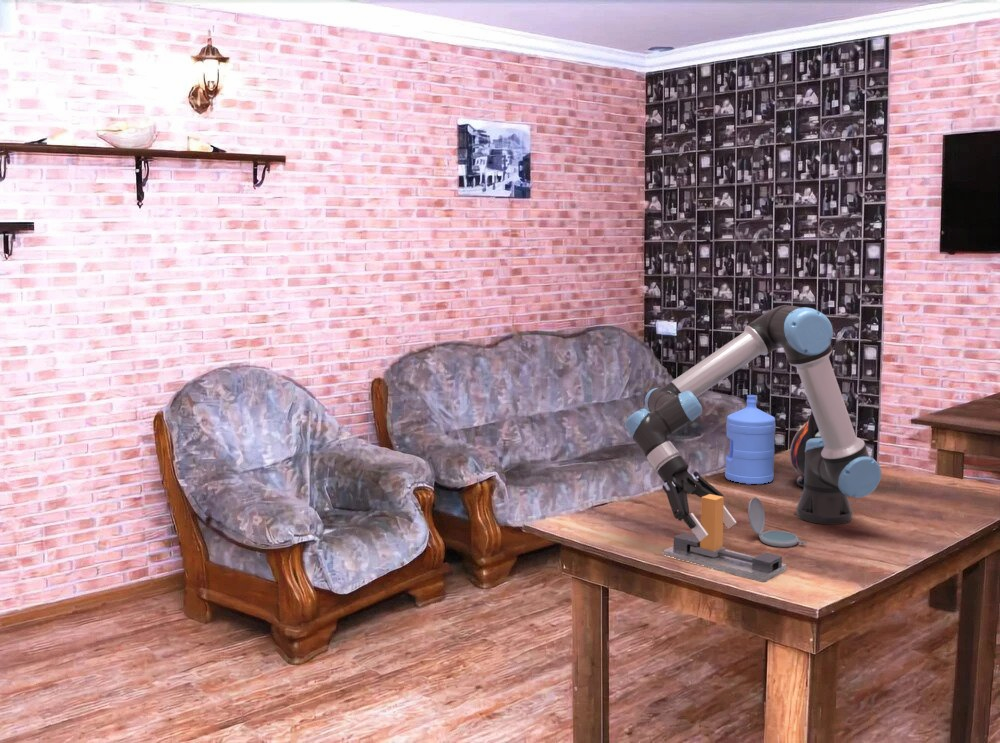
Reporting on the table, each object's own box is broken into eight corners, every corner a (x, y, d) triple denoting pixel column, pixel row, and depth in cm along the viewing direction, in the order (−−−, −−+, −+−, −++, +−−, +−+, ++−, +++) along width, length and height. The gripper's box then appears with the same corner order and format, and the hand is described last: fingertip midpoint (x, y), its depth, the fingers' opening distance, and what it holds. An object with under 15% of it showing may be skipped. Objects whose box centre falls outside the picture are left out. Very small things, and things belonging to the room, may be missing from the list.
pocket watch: (759, 493, 269) (814, 502, 260) (758, 532, 270) (812, 542, 262) (744, 501, 261) (800, 511, 252) (743, 541, 262) (799, 552, 254)
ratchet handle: (770, 563, 239) (772, 506, 237) (760, 569, 236) (762, 510, 234) (700, 546, 252) (702, 491, 250) (690, 551, 249) (691, 495, 247)
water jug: (781, 478, 327) (785, 395, 323) (759, 487, 316) (762, 401, 312) (739, 471, 338) (741, 390, 334) (716, 479, 326) (718, 396, 322)
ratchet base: (786, 570, 240) (786, 552, 239) (764, 582, 232) (764, 563, 231) (686, 545, 259) (687, 529, 258) (663, 555, 251) (663, 538, 250)
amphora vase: (810, 475, 332) (814, 392, 328) (871, 487, 316) (875, 400, 312) (775, 486, 318) (778, 400, 314) (837, 499, 302) (841, 409, 298)
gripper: (685, 463, 265) (734, 528, 257) (631, 480, 247) (681, 551, 239) (703, 446, 260) (753, 512, 252) (649, 463, 242) (701, 535, 234)
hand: (718, 531), depth 245 cm, fingers open, 13 cm apart
